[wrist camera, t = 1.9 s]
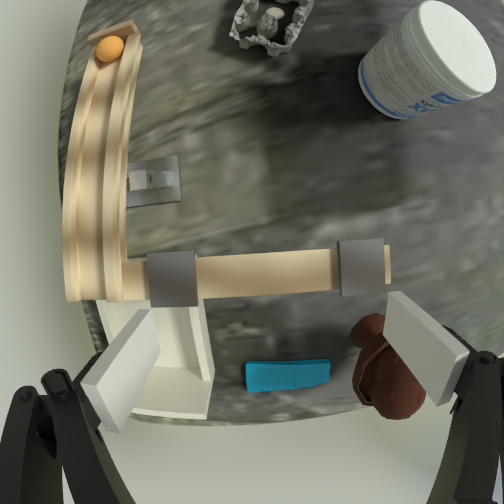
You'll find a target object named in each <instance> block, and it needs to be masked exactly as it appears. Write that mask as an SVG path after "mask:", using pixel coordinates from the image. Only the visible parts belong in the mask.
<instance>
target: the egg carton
mask: <svg viewBox="0 0 504 504" xmlns="http://www.w3.org/2000/svg"><path fill="white" fill-rule="evenodd" d="M276 1H277V2H279V3H289V2H291V1H296V2H298V3H299V5H300V7H299V6H298V8H296V9H295V11H294V15H293V19H292V22H293V23H290V25H289V26H287V27H286V32H285V37H284V41H285V43H286V44H285V45H280V44H278V43H275V42H272V43H270V40H268V39H269V38H272V37H274V36H275V35H276V32H277V27H278V23H277V22H278V21H277V20H278V19H281V18H283V16H284V11H283V10H282V9H280V8H276V7H273V8H269V9H268V10H267V11H266V13H263V14H262V15H261V16H260V19H259V20H258V21H257V34H258V35H257V36H254V35H252V36H251V37H250V38H249V37H247V36H246V37H245V38H244V39H243V40H240V39H239V33H238V32H242V31H245V30H247V29H248V28H249V17H250V15H248V14H249V13H254V12H256V11H257V10H258V3H259V0H244V1H243V3H242V5H241V6H240V8H239V10H238V11H237V13H236V15H235V18H234V21H233V25H232V28H231V32H230V34H229V37H230V36H232V37H234V38H235V39H236V40H238V41H239V45H240V48H244V49H248V48H249V47H250V46H252V45H255V44H260V45H263V46H264V47H265V48H266V49H267V54H268V55H270V56H273V57H276V56H277V55H278V54H280V53H283V52H285V53H289V51H290V49H291V46H292V44H293V42H294V41H295V39H296V38H297V36H298V34H299V32H300V30H301V27H302V26H303V24H304V23H305V21H306V19H307V17H308V15H309V14H310V12H311V9H312V7H313V4H314V0H276Z"/></svg>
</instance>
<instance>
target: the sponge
mask: <svg viewBox="0 0 504 504" xmlns="http://www.w3.org/2000/svg"><path fill="white" fill-rule="evenodd" d="M330 367H331V362H330V360H329V359H312V360H300V361H284V362H283V361H260V362H256V361H255V362H254V361H248V362H246V370H245V371H246V384H247V391H248V392H261V391H273V390H290V389H294V388H296V389H298V388H304V387H313V386H316V385H318V384H321V383H325V382H329V378H330V374H329V372H330Z"/></svg>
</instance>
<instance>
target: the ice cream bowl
mask: <svg viewBox="0 0 504 504" xmlns="http://www.w3.org/2000/svg"><path fill="white" fill-rule="evenodd" d="M384 324H385V316H383V315H380V314H377V313H375V314H372V315H369V316H366V317H364V318H363V319H362V320H361V321H360V322H359V323H358V324H357V325H356V326H355V329H354V333H353V339H354V341H355V343H356V345H357V346H358V347H361V348H363V349H362V350H361V351H360V354H359V357H358V361H357V364H356V367H355V370H354V373H353V378H352V383H353V389H354V391H355V393H356V394H357V396H358V398H359V399H360V401H361V403H362V405H368V406H374V407H375V408H376V409H377V411H378V412H379V413H380V414H381V416H383V417H385V418H387V419H394V420H401V419H406V418H409V417H410V416H411V415H413V414H414V413H415V412H416V411H417V410H418V409H419V408H420V407H421V405H422V404H423V403H424V400H425V396H426V391H425V390H424V388H423V387H422V386H421V384H420V383H419V381H418V380H417V379H416V377H415V376H414V375H413V373H412V372H411V371H410V369H409V368H408V367H407V365H406V364H405V363H404V361H403V360H402V359H401V357H400V356H399V355H398V353H397V352H396V351H395V350H394V348H393V347H392V346H391V344H390V343H389V342H388V341H387V339H386V338H385V337H384V335H383V330H384Z"/></svg>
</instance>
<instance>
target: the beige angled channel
mask: <svg viewBox="0 0 504 504" xmlns="http://www.w3.org/2000/svg"><path fill="white" fill-rule="evenodd" d="M109 36H117V37H119V38H121V39H122V41H123V43H124V49H123V52H122V54H121V55H120V56H119V57H118V58H117V59H115V60H113V61H110V62H104V61H102V60H100V59H99V58H98V57H97V55H96V48H97V46H98V44H99V42H100V41H101V40H103V39H104V38H106V37H109ZM140 37H141V34H140V33H139V31H138V29H137V27H136V25H135V23H134V22H133V20H130V21H127V22H124V23H121V24H118V25H115V26H112V27H110V28H107V29H104V30H102V31H99V32H97V33H94V34H92V35H90V36H89V38H88V42H89V44H90V45H91V46H92V47H93V49H92V52H91V55H90V58H89V61H88V64H87V67H86V70H85V74H84V77H83V81H82V84H81V88H80V92H79V96H78V100H77V104H76V108H75V113H74V118H73V123H72V128H71V134H70V140H69V146H68V153H67V161H66V169H65V179H64V192H63V213H62V247H63V267H64V268H63V269H64V282H65V292H66V301H67V302H76V301H80V300H107V303H117V302H120V301H123V300H150V304H151V308H163V307H197V306H199V302H198V299H200V298H223V297H242V296H259V295H274V294H288V293H300V292H312V291H323V290H334V289H340V296H341V297H345V296H354V295H362V294H371V293H379V292H386V285H385V284H389V283H391V269H390V249H389V245H384V241H383V239H366V240H349V241H337V248H335V249H320V250H305V251H289V252H274V253H259V254H243V255H228V256H212V257H197V258H195V251H180V252H165V253H151V254H147V261H134V262H127V243H126V177H127V158H128V144H129V133H130V123H131V115H132V107H133V99H134V93H135V86H136V80H137V74H138V69H139V64H140V59H141V54H142V49H143V46H142V44H141V43H140Z"/></svg>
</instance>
